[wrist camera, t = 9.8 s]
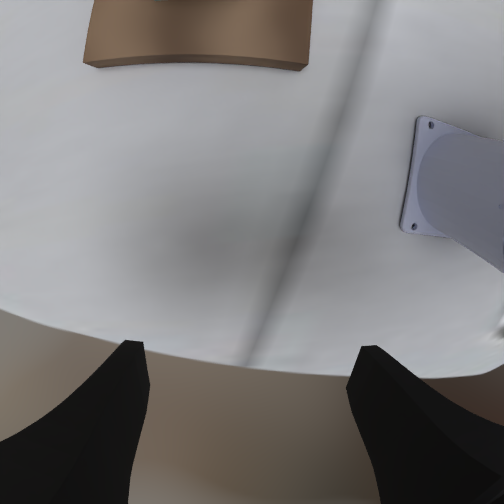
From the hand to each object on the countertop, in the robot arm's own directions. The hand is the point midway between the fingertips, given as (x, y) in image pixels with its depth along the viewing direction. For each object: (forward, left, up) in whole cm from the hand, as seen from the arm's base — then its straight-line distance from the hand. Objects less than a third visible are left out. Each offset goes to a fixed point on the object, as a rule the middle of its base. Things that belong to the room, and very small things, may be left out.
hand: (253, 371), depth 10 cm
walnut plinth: (+4, -17, -10) cm, 20 cm away
